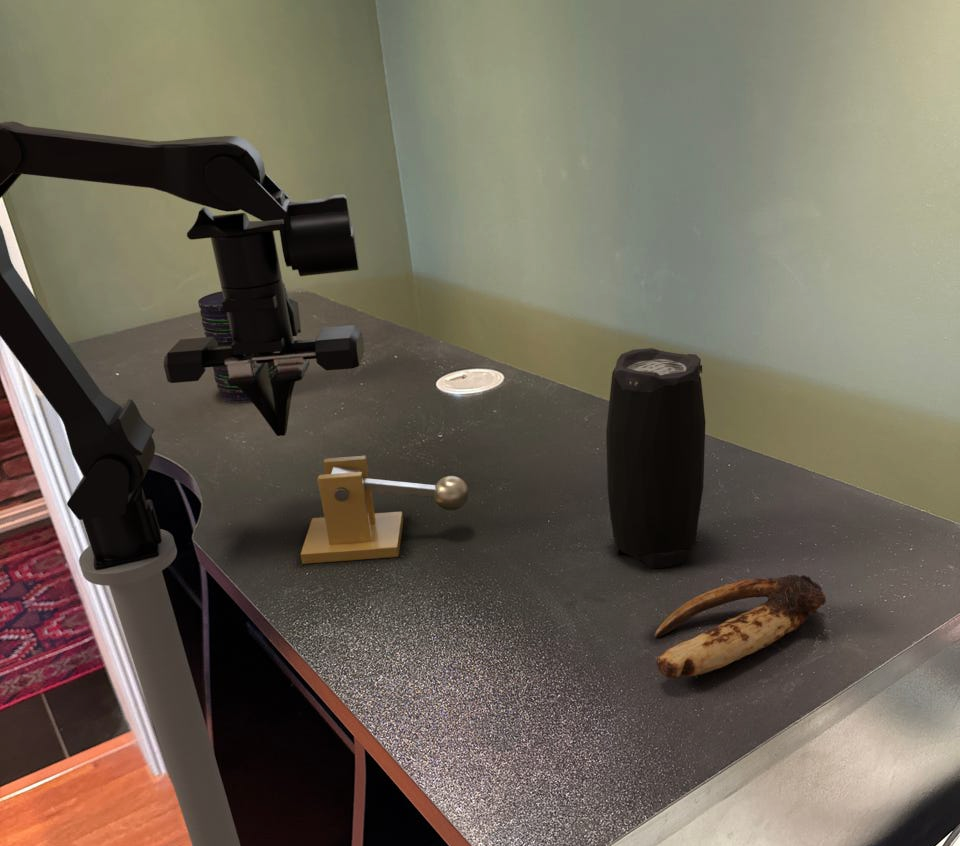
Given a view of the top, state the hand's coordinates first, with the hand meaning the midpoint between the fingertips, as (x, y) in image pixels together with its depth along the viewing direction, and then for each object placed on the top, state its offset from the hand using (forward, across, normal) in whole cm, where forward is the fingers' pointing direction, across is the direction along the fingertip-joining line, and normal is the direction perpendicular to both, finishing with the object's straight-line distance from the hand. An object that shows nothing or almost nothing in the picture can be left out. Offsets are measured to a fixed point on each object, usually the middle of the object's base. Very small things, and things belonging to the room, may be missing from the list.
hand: (281, 434), depth 94 cm
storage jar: (+12, +16, -49) cm, 53 cm away
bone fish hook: (+12, -40, +24) cm, 48 cm away
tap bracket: (+12, -6, +2) cm, 14 cm away
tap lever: (+8, -11, +2) cm, 14 cm away
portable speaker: (+12, -37, +8) cm, 40 cm away
